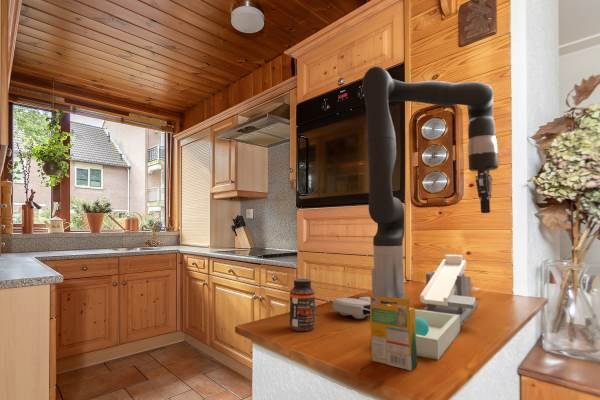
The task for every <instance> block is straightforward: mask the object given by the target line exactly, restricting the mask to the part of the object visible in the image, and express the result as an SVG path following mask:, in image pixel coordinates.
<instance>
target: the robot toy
mask: <svg viewBox="0 0 600 400" xmlns="http://www.w3.org/2000/svg"><path fill="white" fill-rule="evenodd" d="M326 302H330V303H332V308H333V309H332V310H334V311H335V312H337V313H339V314H340V315H341V316H344V317H345V316H346V317H347V316H352V317H353V318H354V319H357V320H363V319H364V318H366V316H371V314H370V306H371V303H370V296H361V297H357V298H351V297H338V298H334V300H330V299H326ZM381 303H382V304H387V305H390V304H388V302H381Z"/></svg>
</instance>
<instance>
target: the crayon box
mask: <svg viewBox="0 0 600 400" xmlns="http://www.w3.org/2000/svg"><path fill="white" fill-rule="evenodd" d="M369 295H370V296H369V297H370V303H371V306H370V314H371V315H370V348H371V349H370V351H371V353H370V357H371V358H370V359H371V362H372V363H379V364H382V365H387V366H391V367H396V368H400V369H403V370H407V371H410V372H411V371H412V370H413V369H415V368H416V367H417V366H418V357H417V350H416V324H415V309H416V308H415V307H410V305H409V304H410V301H409V299H405V298H404V299H399V298H390V297H382V296H374V295H372V294H369ZM381 300H385V301H387V300H390V301H392V302H391V303H397V305H393V304H389V305H387V304H388V303H387V304H382V303H383V302H382V301H381Z"/></svg>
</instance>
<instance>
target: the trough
mask: <svg viewBox="0 0 600 400" xmlns="http://www.w3.org/2000/svg"><path fill="white" fill-rule="evenodd" d="M444 257H445V258H443V259H442V261H441V263H440V264H439V266H438V267H437V269H436V270H435V271H434V272H435V273H434V275H433V276H432V278H431V279H430V281H429V282H428V284H427V285H426V286H425V287H424V288H423V290H422V292H421V293H420V295H419V298H420V303H421V304H426V305H427V304H435V305H443V306H452V307H460V308H469V309H474V306H475V303H476V302H477V297H476V296H475V297H474V296H472V297H467V296H457V295H454V292H455V290H456V287H457V276H458V275H459V274H465V270H466V269H467V261H466V259H463V254H445V256H444Z"/></svg>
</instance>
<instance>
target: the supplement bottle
mask: <svg viewBox="0 0 600 400" xmlns="http://www.w3.org/2000/svg"><path fill="white" fill-rule="evenodd" d="M311 283H312V280H311V279H309V278H295V279H294V280H293V285H294V286H293V288H291V289H290V291H289V327H290V329H291V330H293V331H295V332H309V331H312V330H314V329H315V327H316V292H315V290H314V289H313V288H312V286H311V285H312V284H311Z"/></svg>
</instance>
